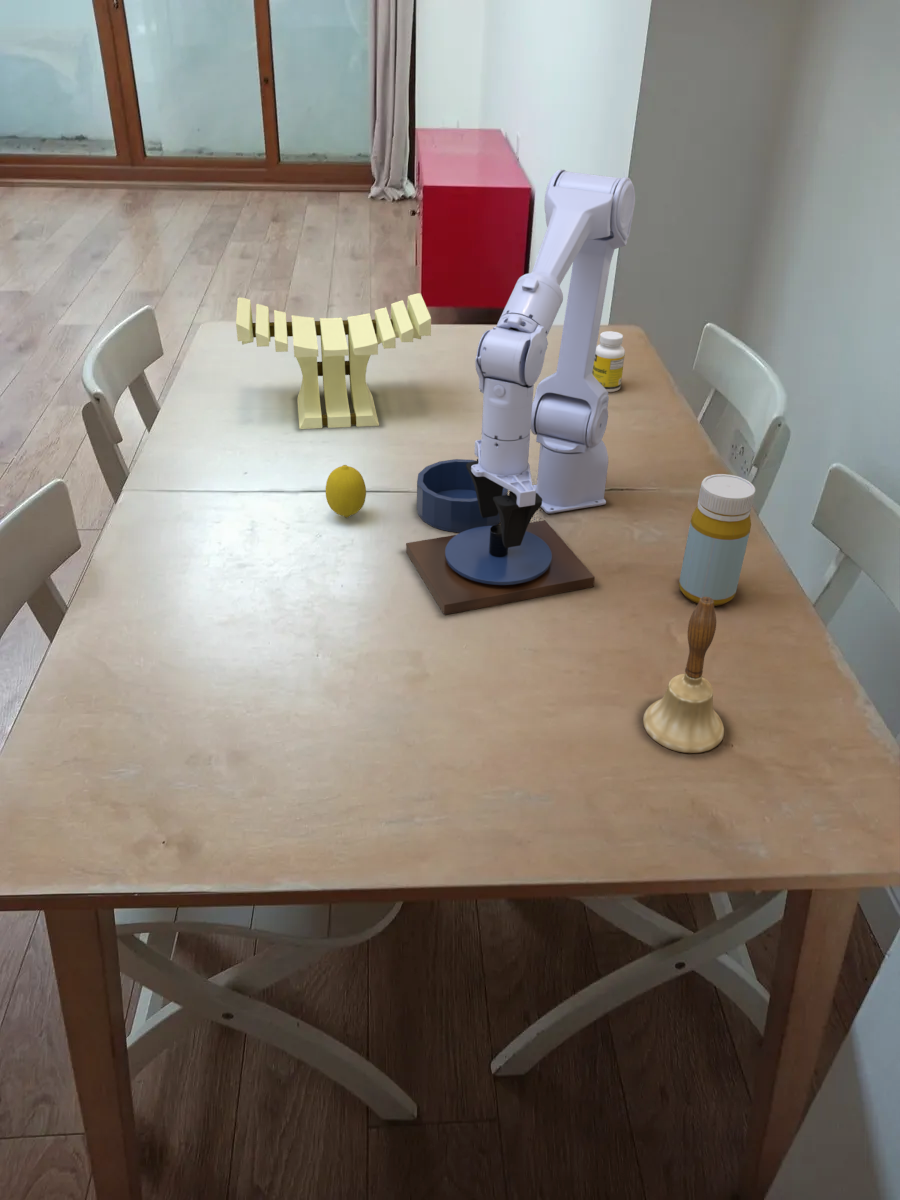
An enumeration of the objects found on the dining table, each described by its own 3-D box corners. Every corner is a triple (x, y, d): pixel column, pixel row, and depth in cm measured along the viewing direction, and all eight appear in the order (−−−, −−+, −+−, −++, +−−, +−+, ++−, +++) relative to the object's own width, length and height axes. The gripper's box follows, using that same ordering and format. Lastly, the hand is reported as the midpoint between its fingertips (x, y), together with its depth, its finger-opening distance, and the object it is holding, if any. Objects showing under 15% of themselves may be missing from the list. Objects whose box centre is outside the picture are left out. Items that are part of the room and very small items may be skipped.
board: (544, 529, 134) (545, 520, 133) (593, 586, 122) (594, 576, 122) (406, 552, 128) (406, 542, 127) (444, 615, 117) (444, 604, 116)
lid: (525, 526, 132) (527, 496, 129) (569, 578, 121) (572, 547, 119) (430, 541, 128) (430, 511, 125) (467, 597, 117) (468, 565, 115)
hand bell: (672, 762, 97) (699, 633, 88) (627, 711, 103) (648, 586, 94) (740, 741, 99) (773, 613, 90) (692, 692, 106) (719, 569, 97)
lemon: (360, 529, 133) (358, 476, 128) (321, 524, 134) (318, 472, 129) (371, 510, 137) (370, 458, 133) (333, 505, 138) (331, 454, 134)
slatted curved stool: (417, 387, 175) (418, 287, 165) (429, 423, 162) (431, 318, 152) (248, 393, 171) (238, 291, 161) (246, 431, 158) (235, 323, 148)
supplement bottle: (584, 384, 178) (590, 331, 172) (610, 380, 180) (616, 328, 174) (600, 394, 174) (607, 341, 168) (626, 390, 176) (633, 337, 170)
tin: (486, 484, 145) (488, 454, 142) (520, 524, 135) (522, 493, 132) (405, 496, 141) (405, 465, 138) (434, 538, 131) (434, 507, 128)
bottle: (737, 583, 124) (761, 478, 115) (731, 613, 118) (756, 504, 110) (682, 572, 126) (701, 468, 117) (674, 601, 120) (694, 494, 112)
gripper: (453, 410, 119) (450, 507, 126) (497, 461, 108) (492, 565, 115) (506, 403, 121) (500, 499, 128) (555, 453, 110) (546, 555, 117)
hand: (500, 530), depth 122 cm, fingers open, 7 cm apart
